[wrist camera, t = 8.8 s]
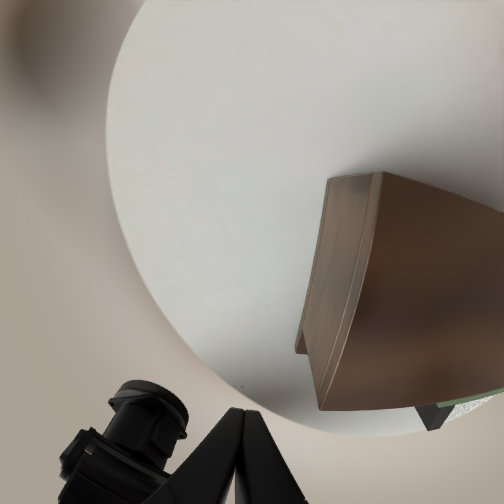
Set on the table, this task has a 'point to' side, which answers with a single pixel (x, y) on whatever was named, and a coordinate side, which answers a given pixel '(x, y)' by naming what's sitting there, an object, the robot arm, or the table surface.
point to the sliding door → (445, 410)
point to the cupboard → (403, 296)
